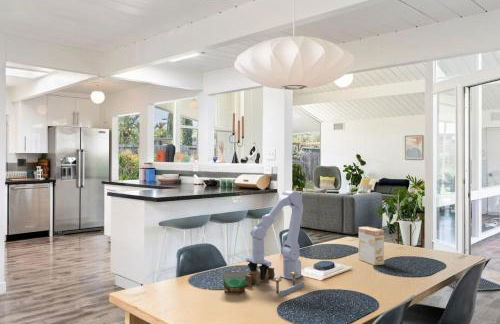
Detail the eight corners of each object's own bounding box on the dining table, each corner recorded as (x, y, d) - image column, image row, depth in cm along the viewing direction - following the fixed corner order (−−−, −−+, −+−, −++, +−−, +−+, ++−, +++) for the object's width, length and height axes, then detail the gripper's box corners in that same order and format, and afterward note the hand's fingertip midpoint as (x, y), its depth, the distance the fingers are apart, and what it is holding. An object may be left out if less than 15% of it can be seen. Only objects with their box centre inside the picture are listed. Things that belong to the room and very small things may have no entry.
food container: (224, 296, 191) (223, 273, 190) (221, 291, 197) (221, 270, 196) (250, 293, 194) (250, 271, 194) (247, 289, 200) (247, 268, 200)
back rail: (302, 286, 204) (302, 281, 204) (304, 286, 204) (304, 282, 204) (279, 295, 190) (279, 291, 190) (281, 296, 190) (281, 291, 190)
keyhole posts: (292, 284, 207) (292, 271, 207) (299, 285, 204) (299, 272, 204) (271, 293, 194) (271, 279, 194) (278, 294, 192) (278, 280, 192)
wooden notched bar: (266, 276, 221) (266, 266, 221) (274, 277, 218) (274, 268, 218) (242, 284, 207) (242, 274, 207) (250, 286, 204) (250, 276, 204)
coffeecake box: (384, 264, 243) (384, 229, 242) (374, 265, 240) (374, 230, 240) (368, 258, 257) (367, 226, 256) (358, 259, 254) (357, 226, 254)
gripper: (241, 250, 214) (242, 277, 214) (264, 254, 204) (265, 283, 205) (251, 248, 219) (251, 274, 219) (273, 252, 210) (274, 279, 210)
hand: (258, 278), depth 212 cm, fingers closed on wooden notched bar, 5 cm apart
